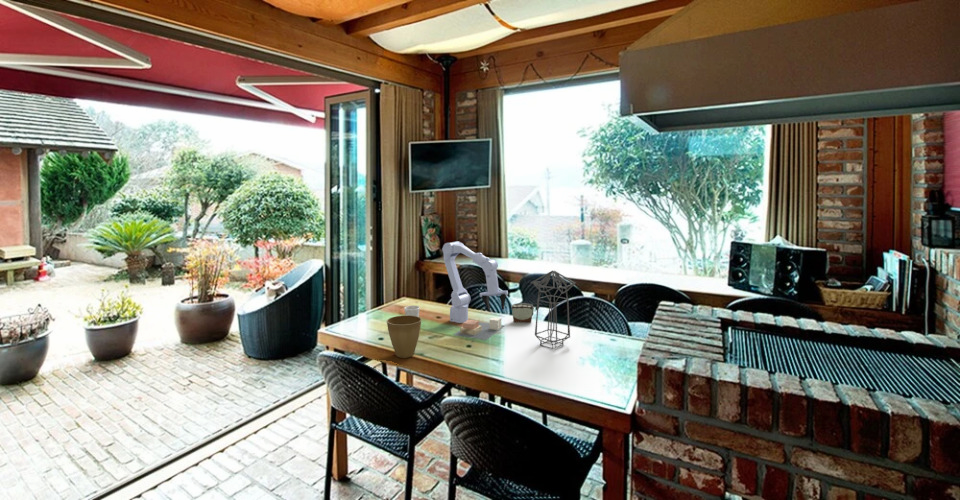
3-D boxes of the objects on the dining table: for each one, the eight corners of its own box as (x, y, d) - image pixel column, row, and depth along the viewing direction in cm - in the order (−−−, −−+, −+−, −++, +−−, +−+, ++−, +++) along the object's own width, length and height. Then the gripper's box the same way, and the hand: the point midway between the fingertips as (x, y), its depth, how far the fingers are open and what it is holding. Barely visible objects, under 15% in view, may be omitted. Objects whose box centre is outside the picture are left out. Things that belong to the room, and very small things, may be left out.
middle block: (462, 327, 221) (462, 322, 220) (468, 324, 226) (468, 319, 226) (473, 329, 218) (473, 324, 218) (478, 325, 223) (478, 321, 223)
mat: (452, 336, 218) (452, 334, 218) (474, 322, 239) (474, 321, 239) (485, 341, 210) (485, 339, 210) (505, 327, 231) (505, 325, 231)
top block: (489, 328, 226) (489, 319, 226) (493, 326, 230) (493, 317, 230) (497, 330, 224) (497, 320, 224) (501, 327, 228) (501, 318, 228)
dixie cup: (421, 323, 239) (421, 305, 238) (418, 328, 231) (417, 309, 229) (406, 323, 240) (406, 305, 238) (402, 328, 232) (402, 309, 230)
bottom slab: (460, 332, 220) (460, 328, 220) (467, 328, 228) (467, 323, 227) (474, 335, 217) (474, 330, 217) (481, 330, 224) (481, 325, 224)
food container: (533, 320, 242) (533, 303, 241) (533, 324, 236) (534, 305, 235) (511, 320, 244) (511, 302, 242) (510, 323, 238) (510, 305, 236)
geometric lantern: (549, 337, 215) (550, 266, 210) (576, 345, 203) (578, 270, 199) (527, 345, 205) (528, 270, 200) (554, 354, 193) (555, 275, 188)
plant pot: (421, 360, 187) (420, 324, 185) (385, 362, 186) (384, 325, 184) (423, 348, 202) (422, 314, 200) (390, 349, 201) (388, 315, 199)
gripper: (476, 285, 224) (480, 312, 225) (504, 283, 219) (507, 310, 220) (480, 283, 231) (484, 309, 231) (507, 281, 226) (511, 307, 227)
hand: (495, 309), depth 226 cm, fingers open, 7 cm apart
